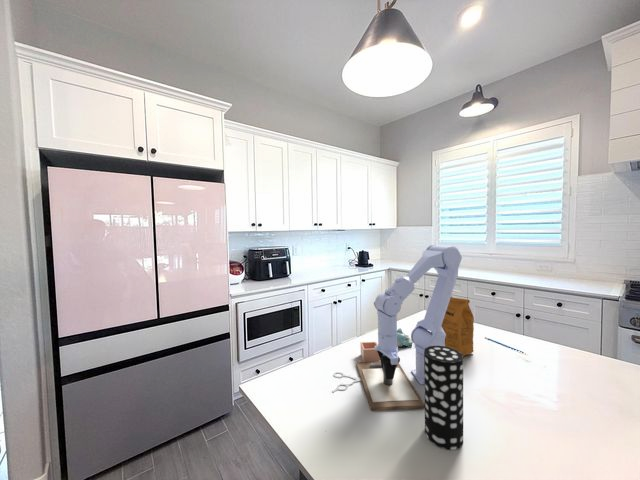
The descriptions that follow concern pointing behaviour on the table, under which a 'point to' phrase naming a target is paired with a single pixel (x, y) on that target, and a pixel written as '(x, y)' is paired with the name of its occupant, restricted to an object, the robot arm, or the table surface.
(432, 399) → the white-spotted black cylinder
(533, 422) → the table surface
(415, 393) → the clipboard
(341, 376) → the scissors
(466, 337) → the coffee package
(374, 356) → the pen cup
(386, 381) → the marker
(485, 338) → the grey thin rod
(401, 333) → the stuffed animal
